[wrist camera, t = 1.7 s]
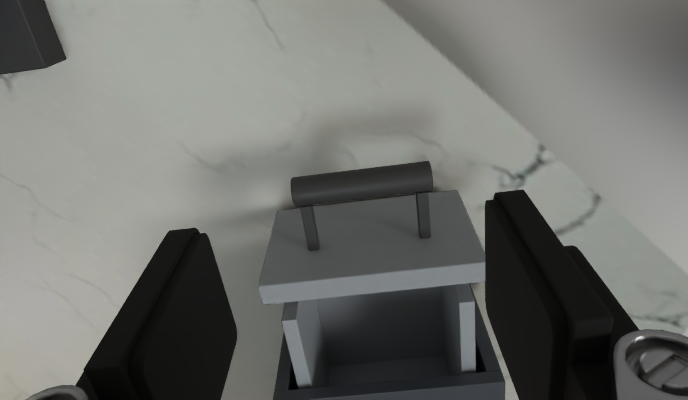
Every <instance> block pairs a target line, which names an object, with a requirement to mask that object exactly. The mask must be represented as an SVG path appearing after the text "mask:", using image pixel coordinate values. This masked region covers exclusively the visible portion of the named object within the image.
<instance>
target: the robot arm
mask: <svg viewBox="0 0 688 400" xmlns="http://www.w3.org/2000/svg"><path fill="white" fill-rule="evenodd" d="M485 302H486V309H487V314H488V317H489V320H490V323H491V326H492V328H493V331H494V334H495V336H496V339H497V342H498V344H499V347H500V350H501V352H502V355H503V358H504V360H505V363H506V366H507V368H508V371H509V374H510V376H511V379H512V382H513V384H514V387H515V390H516V392H517V395H518V398H519V400H688V337H686V336H683V335H681V334H678V333H673V332H669V331H664V330H651V329H645V330H639V329H638V328H637V326H636V325H635V324H634V322H633V321H632V320H631V318H630V317H629V316H628V314H627V313H626V312H625V310H624V309H623V308H622V306H621V305H620V304H619V302H618V301H617V300H616V298H615V297H614V296H613V294H612V293H611V292H610V290H609V289H608V288H607V286H606V285H605V283H604V282H603V281H602V279H601V278H600V277H599V275H598V274H597V273H596V271H595V270H594V269H593V267H592V266H591V265H590V263H589V262H588V261H587V259H586V258H585V257H584V255H583V254H582V253H581V251H580V250H579V249H578V248H577V247H575V246H563V245H562V243H561V242H560V241H559V239H558V238H557V236H556V235H555V233H554V232H553V231H552V229H551V228H550V226H549V225H548V224H547V222H546V221H545V219H544V218H543V216H542V215H541V214H540V212H539V211H538V209H537V208H536V207H535V205H534V204H533V202H532V201H531V199H530V198H529V197H528V195H527V194H526V192H525V191H524V190H515V191H507V192H498V193H495V195H494V200H487V201H486V203H485ZM236 341H237V328H236V324H235V321H234V318H233V314H232V311H231V308H230V305H229V301H228V298H227V295H226V292H225V289H224V285H223V282H222V279H221V276H220V272H219V269H218V266H217V263H216V260H215V256H214V253H213V250H212V247H211V243H210V240H209V238H208V236H207V234H205V233H201V234H200V232H199V231H198V229H196V228H189V229H180V230H172V231H169V232H168V233H167V234H166V236H165V237H164V239H163V241H162V242H161V244H160V246H159V247H158V249H157V251H156V252H155V254H154V255H153V257H152V259H151V260H150V262H149V264H148V265H147V267H146V268H145V270H144V272H143V273H142V275H141V277H140V278H139V280H138V282H137V283H136V285H135V286H134V288H133V290H132V291H131V293H130V295H129V296H128V298H127V299H126V301H125V303H124V304H123V306H122V308H121V309H120V311H119V312H118V314H117V316H116V317H115V319H114V321H113V322H112V324H111V326H110V327H109V329H108V330H107V332H106V334H105V335H104V337H103V339H102V340H101V342H100V343H99V345H98V347H97V348H96V350H95V352H94V353H93V355H92V357H91V358H90V360H89V361H88V363H87V365H86V366H85V368H84V372H83V374H82V376H81V377H80V379H79V380H78V382H77V384H76V385H75V386H73V385H60V386H56V387H52V388H48V389H45V390H43V391H41V392H39V393H36V394H34V395H32V396H30V397H29V398H27V399H26V400H221V396H222V393H223V389H224V385H225V382H226V378H227V374H228V371H229V367H230V364H231V360H232V356H233V353H234V349H235V345H236Z"/></svg>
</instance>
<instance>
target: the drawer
mask: <svg viewBox="0 0 688 400" xmlns="http://www.w3.org/2000/svg"><path fill="white" fill-rule="evenodd" d="M432 190H433V177H432V170H431V165H430V162H429V161H424V162H416V163H408V164H400V165H391V166H383V167H375V168H367V169H359V170H350V171H342V172H334V173H326V174H317V175H309V176H301V177H293V178H292V179H291V194H292V200H293V203H294V205H295V206H296V207H297V206H300V208H298V209H290V210H281V211H277V214H276V218H275V222H274V226H273V230H272V234H271V237H270V241H269V245H268V249H267V253H266V257H265V261H264V265H263V268H262V272H261V276H260V280H259V284H258V290H259V294H260V297H261V301H262V304H263V305H266V304H276V303H285V304H284V309H283V315H282V321H281V322H282V325H283V329H284V333H285V337H286V341H287V345H288V349H289V353H290V357H291V361H292V365H293V369H294V373H295V377H296V381H297V385H298V389H308V388H319V387H330V386H341V385H351V384H362V383H373V382H384V381H395V380H406V379H416V378H427V377H438V376H449V375H460V374H471V373H476V354H475V301H474V298H473V296H472V293H471V290H470V287H469V284H468V283H477V282H485V251H484V249H483V247H482V244H481V242H480V240H479V238H478V235H477V233H476V231H475V229H474V226H473V224H472V222H471V220H470V217H469V215H468V213H467V211H466V208H465V206H464V204H463V201H462V199H461V197H460V195H459V192H458V190H452V191H443V192H435V193H428V191H432ZM408 193H416V195H409V196H401V197H392V198H384V199H375V200H367V201H358V202H350V203H341V204H333V205H324V206H315V207H313V205H314V204H323V203H331V202H340V201H348V200H357V199H365V198H374V197H382V196H391V195H399V194H408Z"/></svg>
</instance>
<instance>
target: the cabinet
mask: <svg viewBox="0 0 688 400" xmlns="http://www.w3.org/2000/svg"><path fill="white" fill-rule="evenodd" d="M468 284H469V287H470V290H471V293H472V296H473V298H474V301H475V354H476V373H471V374H460V375H449V376H438V377H427V378H416V379H406V380H395V381H384V382H373V383H362V384H351V385H341V386H330V387H319V388H308V389H298V385H297V381H296V377H295V373H294V369H293V365H292V361H291V357H290V353H289V349H288V345H287V341H286V337H285V333H284V335H283V341H282V347H281V353H280V360H279V366H278V372H277V378H276V385H275V392H274V396H273V400H505V380H504V377H503V374H502V372H501V369H500V366H499V363H498V360H497V358H496V355H495V352H494V349H493V346H492V344H491V341H490V338H489V335H488V332H487V330H486V327H485V324H484V321H483V318H482V316H481V313H480V310H479V307H478V304H477V302H476V299H475V296H474V293H473V290H472V288H471V285H470V283H468Z"/></svg>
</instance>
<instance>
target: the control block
mask: <svg viewBox="0 0 688 400" xmlns="http://www.w3.org/2000/svg"><path fill="white" fill-rule="evenodd" d="M63 60H66V57H65V54H64V51H63V49H62V46H61V44H60V41H59V39H58V36H57V33H56V31H55V28H54V26H53V23H52V21H51V18H50V16H49V13H48V10H47V8H46V5H45V3H44V0H0V74H7V73H14V72H21V71H28V70H35V69H42V68H47V67H49V66H52V65H54V64H56V63H59V62H61V61H63Z"/></svg>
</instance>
